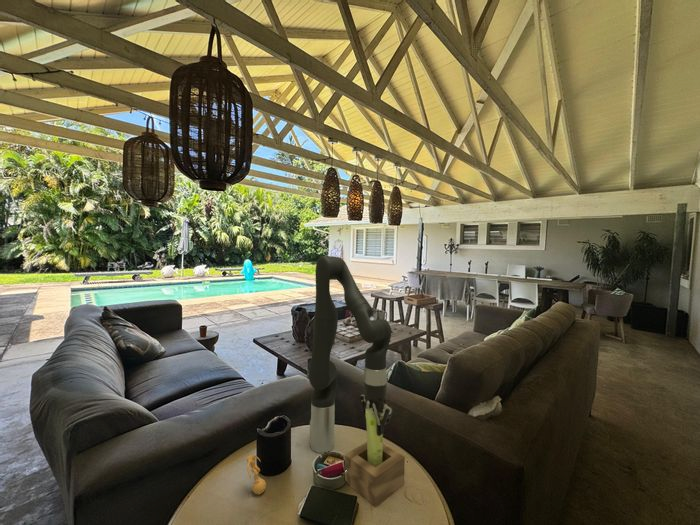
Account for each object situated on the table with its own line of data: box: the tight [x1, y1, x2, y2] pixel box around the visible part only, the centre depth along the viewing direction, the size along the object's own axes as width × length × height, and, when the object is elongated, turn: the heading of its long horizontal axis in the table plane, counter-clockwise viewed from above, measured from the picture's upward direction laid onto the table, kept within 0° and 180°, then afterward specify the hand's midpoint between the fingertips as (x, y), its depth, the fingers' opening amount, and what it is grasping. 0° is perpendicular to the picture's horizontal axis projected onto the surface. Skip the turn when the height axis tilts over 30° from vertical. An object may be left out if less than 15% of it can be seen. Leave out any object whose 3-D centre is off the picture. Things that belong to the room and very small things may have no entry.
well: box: [344, 441, 406, 508], centre depth 98 cm, size 14×14×9 cm
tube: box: [365, 408, 384, 467], centre depth 98 cm, size 6×5×20 cm
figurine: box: [246, 453, 267, 495], centre depth 94 cm, size 8×6×12 cm
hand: (374, 431), depth 98 cm, fingers closed on tube, 4 cm apart
